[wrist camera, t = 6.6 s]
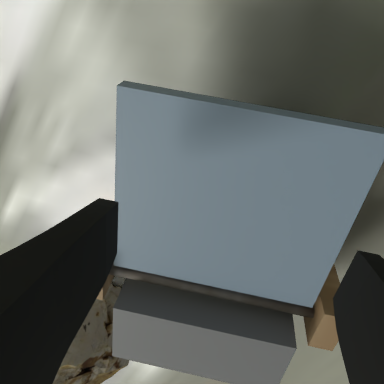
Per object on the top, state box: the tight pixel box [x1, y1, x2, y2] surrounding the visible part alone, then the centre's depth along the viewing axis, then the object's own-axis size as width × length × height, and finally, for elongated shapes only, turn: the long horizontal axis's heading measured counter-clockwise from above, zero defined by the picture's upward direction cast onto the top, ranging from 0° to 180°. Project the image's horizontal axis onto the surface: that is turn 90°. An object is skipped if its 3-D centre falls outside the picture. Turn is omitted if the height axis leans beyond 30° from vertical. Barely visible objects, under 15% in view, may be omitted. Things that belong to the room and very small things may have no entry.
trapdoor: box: [112, 81, 384, 384], centre depth 16 cm, size 10×14×4 cm
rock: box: [53, 283, 129, 384], centre depth 25 cm, size 12×7×10 cm, turn 103°
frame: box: [96, 262, 340, 351], centre depth 20 cm, size 13×5×7 cm, turn 82°
